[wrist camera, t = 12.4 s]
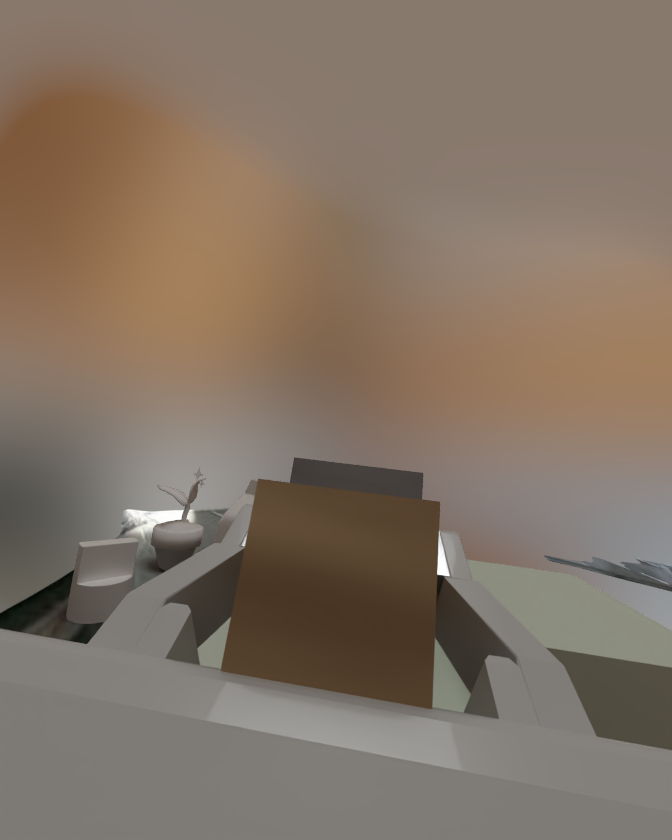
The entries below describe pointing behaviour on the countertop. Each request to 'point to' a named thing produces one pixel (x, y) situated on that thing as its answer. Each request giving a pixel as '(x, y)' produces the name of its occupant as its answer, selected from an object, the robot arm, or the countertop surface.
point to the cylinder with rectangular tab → (101, 579)
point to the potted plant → (177, 532)
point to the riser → (568, 651)
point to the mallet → (339, 584)
